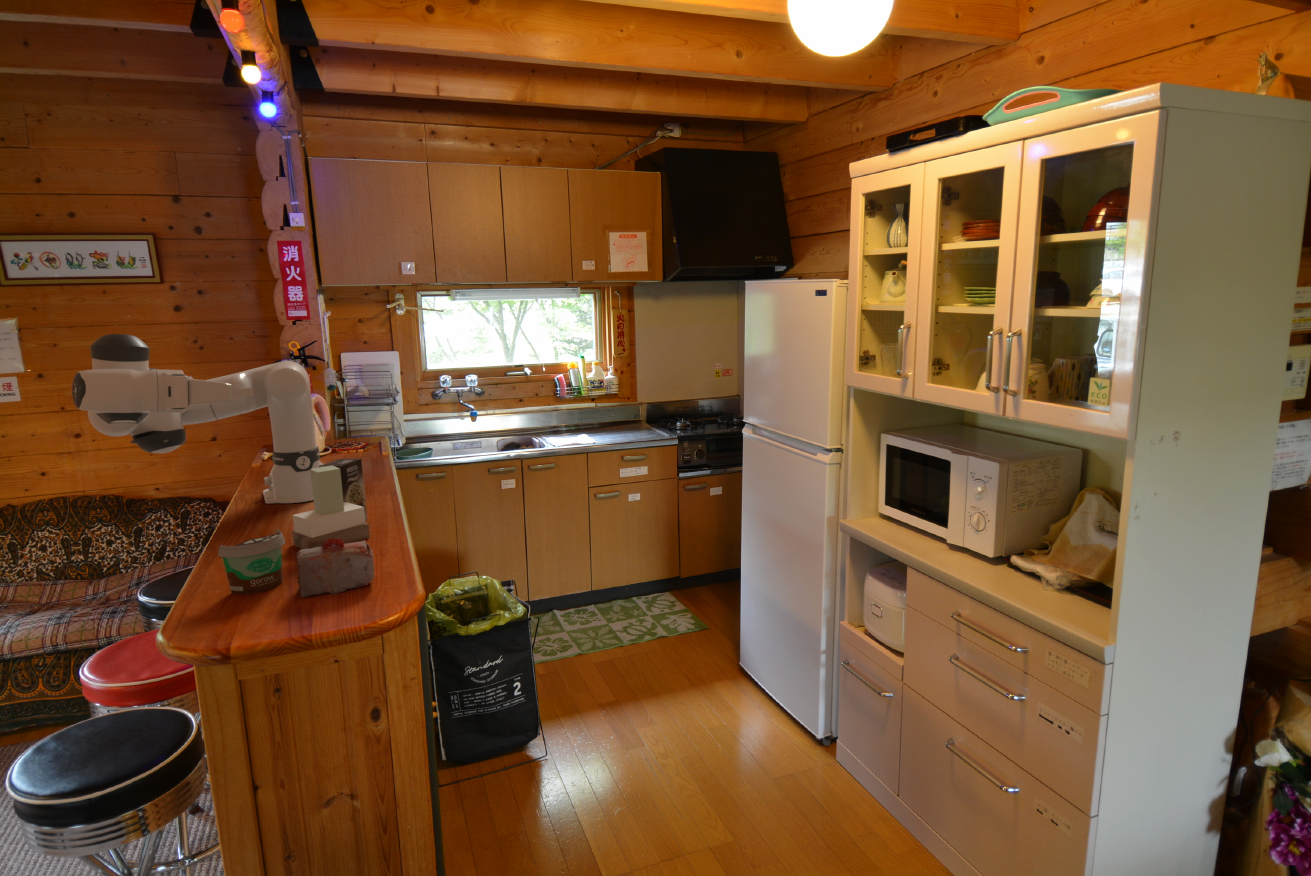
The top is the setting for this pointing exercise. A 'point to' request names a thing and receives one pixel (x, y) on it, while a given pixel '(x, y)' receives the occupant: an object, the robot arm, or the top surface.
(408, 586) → the top surface
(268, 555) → the food container
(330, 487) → the green block
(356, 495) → the coffee box
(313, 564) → the food item
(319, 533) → the white slab
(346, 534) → the walnut slab
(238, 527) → the top surface
